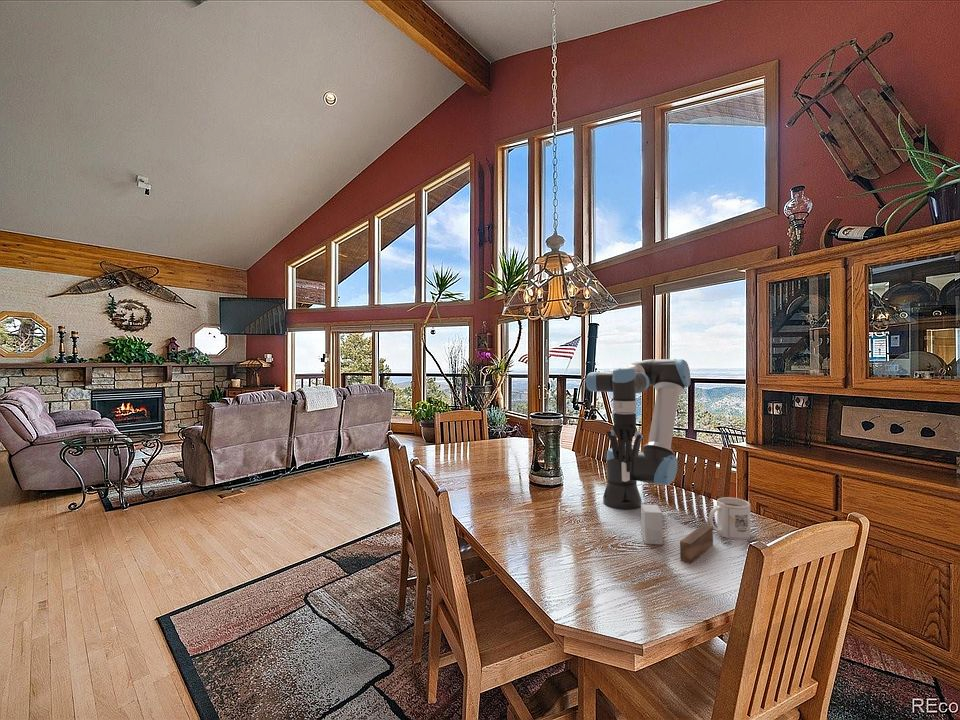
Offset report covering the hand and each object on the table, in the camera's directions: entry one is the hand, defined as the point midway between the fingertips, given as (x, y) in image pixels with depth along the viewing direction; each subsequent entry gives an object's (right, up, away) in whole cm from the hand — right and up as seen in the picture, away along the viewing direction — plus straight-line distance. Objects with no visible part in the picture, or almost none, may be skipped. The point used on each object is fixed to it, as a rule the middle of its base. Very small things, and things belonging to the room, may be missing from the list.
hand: (625, 480), depth 156 cm
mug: (+34, -18, -3) cm, 39 cm away
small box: (+7, -18, -6) cm, 20 cm away
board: (+17, -18, -17) cm, 30 cm away
